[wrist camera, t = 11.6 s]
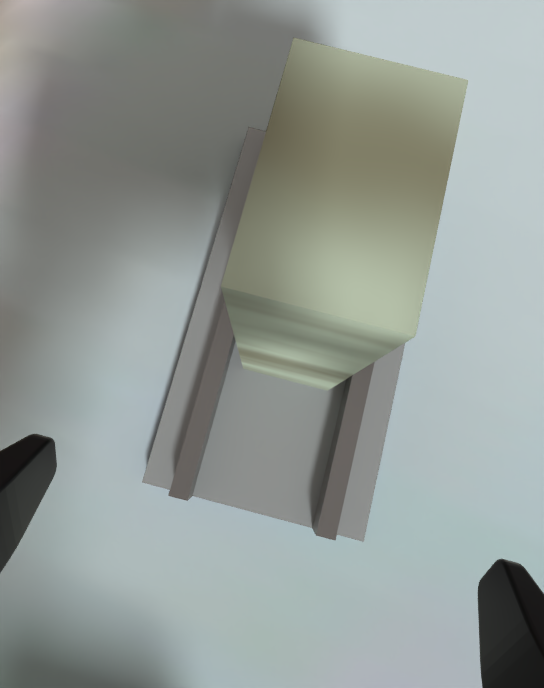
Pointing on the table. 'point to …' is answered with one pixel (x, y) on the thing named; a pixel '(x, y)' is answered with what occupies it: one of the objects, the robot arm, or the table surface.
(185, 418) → the door track
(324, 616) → the table surface
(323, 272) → the grey green block
